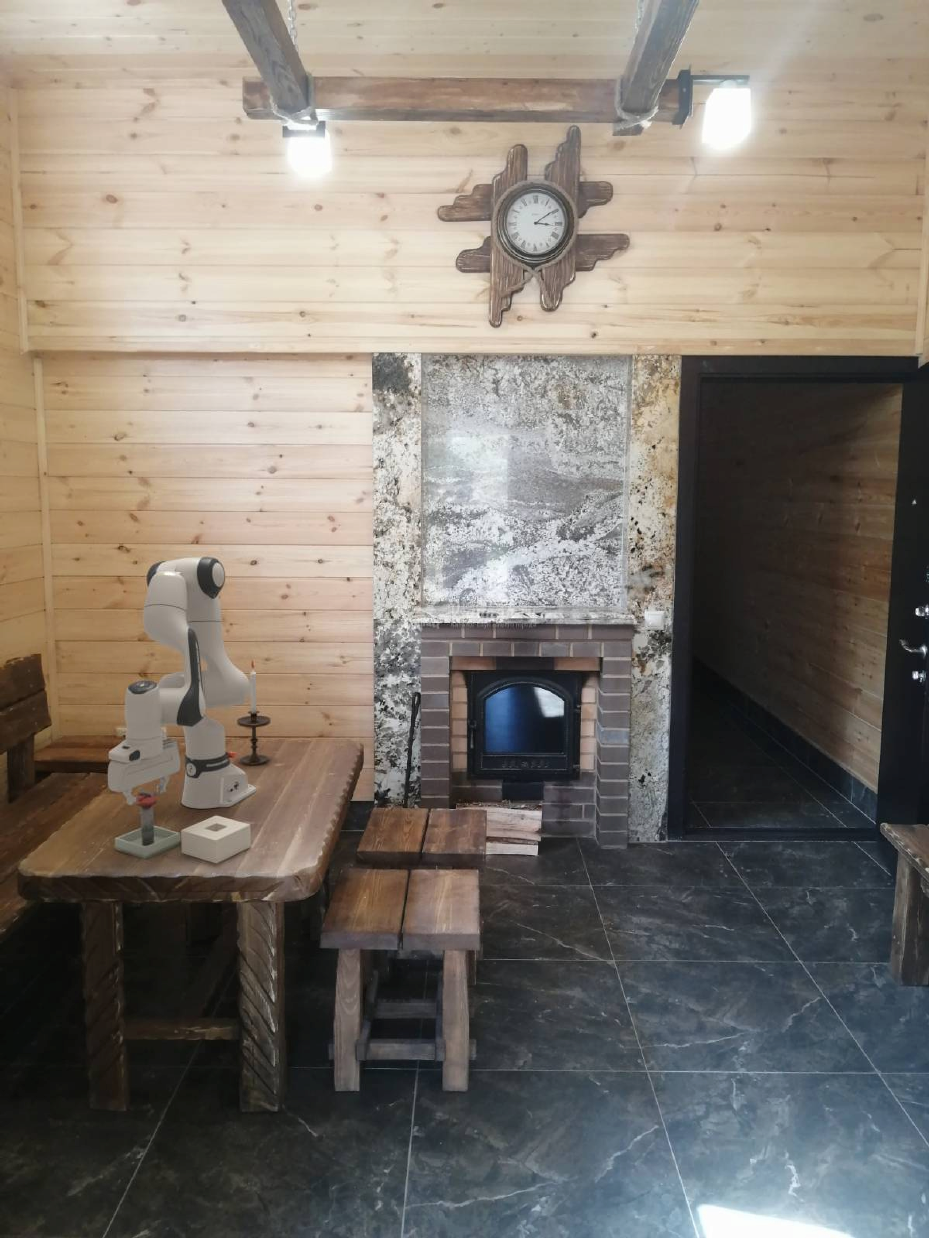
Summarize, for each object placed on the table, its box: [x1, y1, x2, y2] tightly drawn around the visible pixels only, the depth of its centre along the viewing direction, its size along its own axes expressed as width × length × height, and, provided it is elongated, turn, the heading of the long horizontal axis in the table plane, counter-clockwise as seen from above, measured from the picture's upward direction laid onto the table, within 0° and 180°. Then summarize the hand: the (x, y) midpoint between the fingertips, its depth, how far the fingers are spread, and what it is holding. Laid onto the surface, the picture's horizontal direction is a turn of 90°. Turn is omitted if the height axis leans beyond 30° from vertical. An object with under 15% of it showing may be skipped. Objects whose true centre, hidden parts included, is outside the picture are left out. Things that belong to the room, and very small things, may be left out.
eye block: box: [180, 815, 252, 865], centre depth 227 cm, size 12×12×6 cm
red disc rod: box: [134, 789, 158, 846], centre depth 227 cm, size 5×5×14 cm
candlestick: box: [236, 660, 271, 767], centre depth 296 cm, size 11×11×35 cm
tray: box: [114, 825, 181, 860], centre depth 228 cm, size 11×11×3 cm
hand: (146, 798), depth 226 cm, fingers open, 8 cm apart
